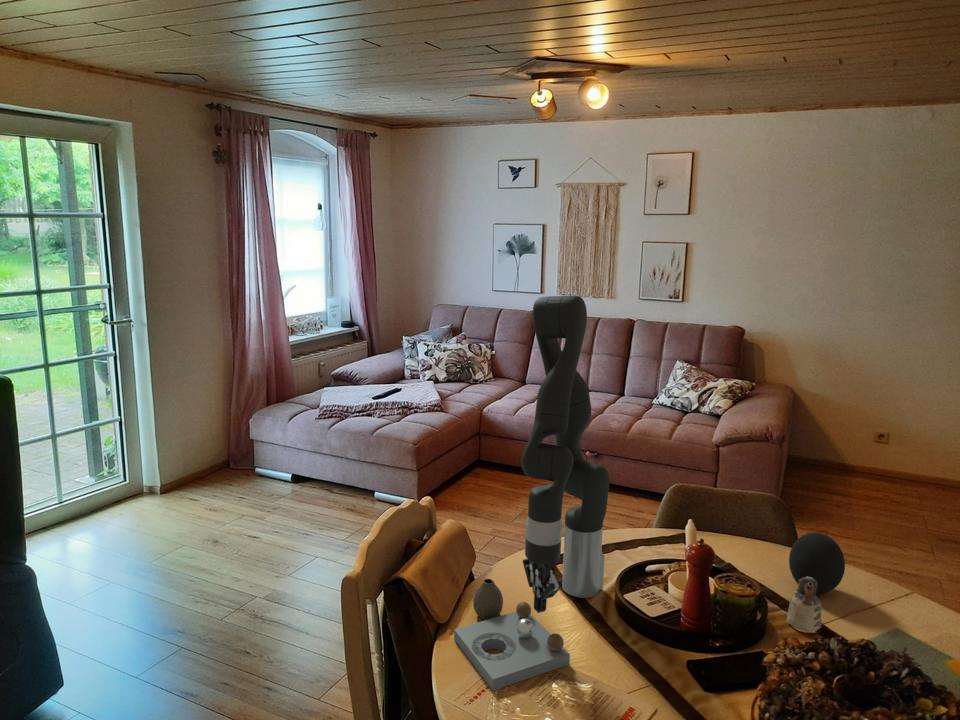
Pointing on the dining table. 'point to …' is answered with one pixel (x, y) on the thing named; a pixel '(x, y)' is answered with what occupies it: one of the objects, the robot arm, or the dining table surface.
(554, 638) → the walnut ball
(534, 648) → the hole plate
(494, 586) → the vase
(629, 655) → the dining table surface
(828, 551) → the decorative egg
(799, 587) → the figurine
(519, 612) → the walnut ball
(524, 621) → the steel ball
